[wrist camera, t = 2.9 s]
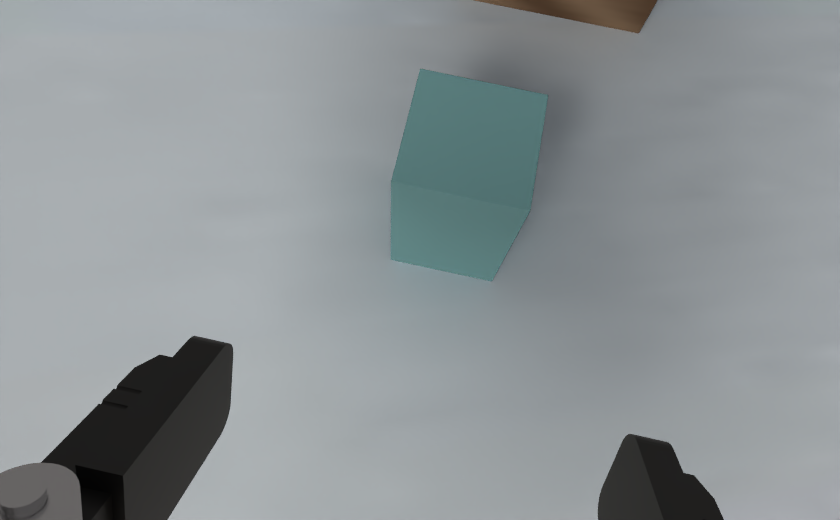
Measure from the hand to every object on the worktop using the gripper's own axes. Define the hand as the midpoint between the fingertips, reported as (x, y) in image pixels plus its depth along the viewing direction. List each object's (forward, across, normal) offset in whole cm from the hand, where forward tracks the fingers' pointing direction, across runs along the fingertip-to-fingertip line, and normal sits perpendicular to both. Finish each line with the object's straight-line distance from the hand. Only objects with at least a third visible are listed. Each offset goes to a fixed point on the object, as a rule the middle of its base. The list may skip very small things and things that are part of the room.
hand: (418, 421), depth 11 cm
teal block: (+18, 0, +2) cm, 18 cm away
